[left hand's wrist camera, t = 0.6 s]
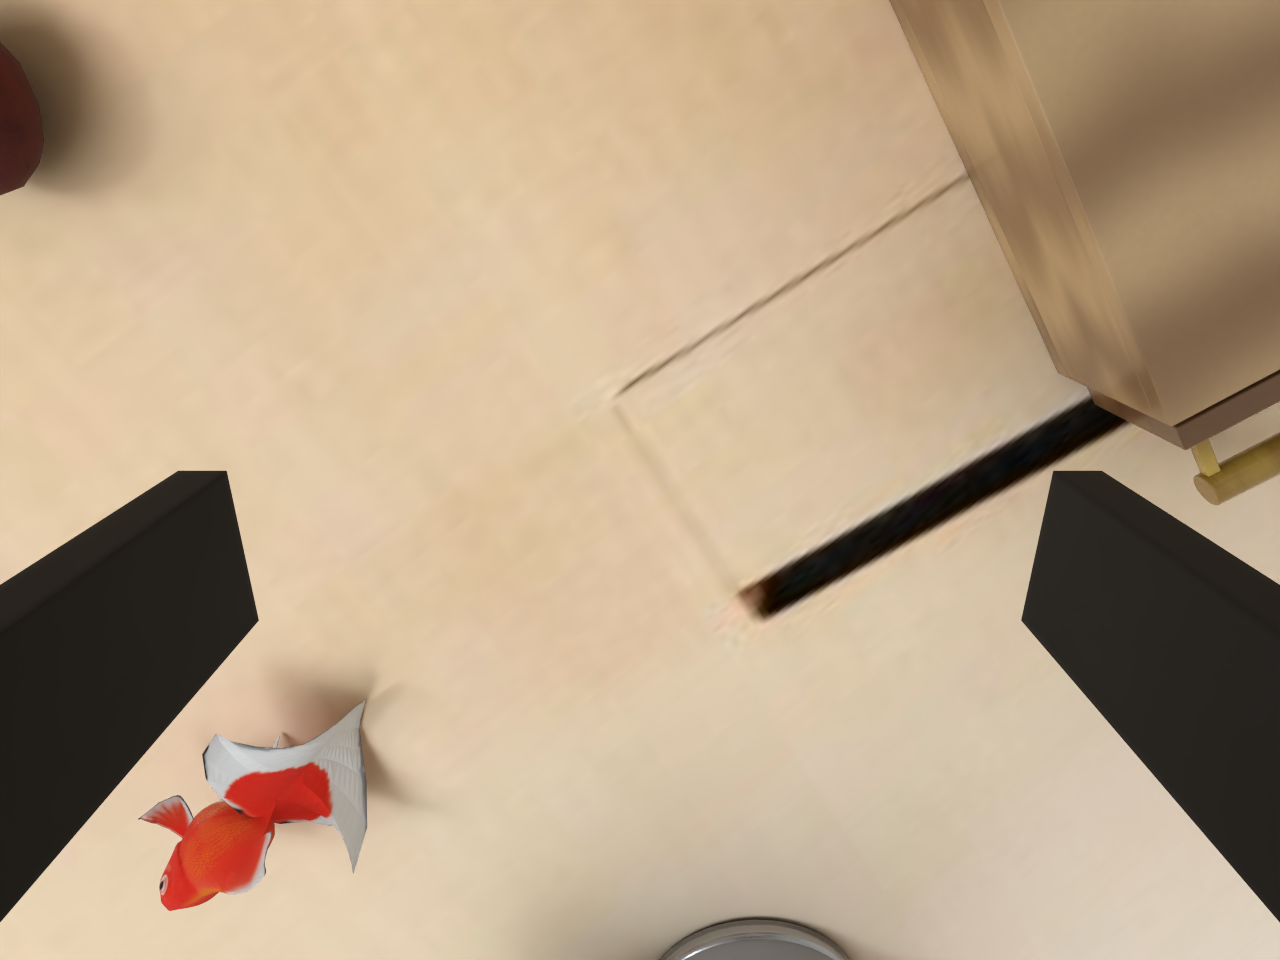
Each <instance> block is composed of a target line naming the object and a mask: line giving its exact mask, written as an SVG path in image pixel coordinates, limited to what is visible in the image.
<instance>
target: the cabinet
mask: <svg viewBox="0 0 1280 960" xmlns="http://www.w3.org/2000/svg"><path fill="white" fill-rule="evenodd" d="M890 2H891V5H892V7H893V9H894V11H895V13H896V16H897V18H898V20H899V22H900V24H901V27H902V29H903V31H904V33H905V35H906V38H907V40H908V42H909V44H910V46H911V49H912V51H913V53H914V55H915V58H916V60H917V62H918V64H919V66H920V69H921V71H922V73H923V75H924V77H925V80H926V82H927V84H928V86H929V88H930V91H931V93H932V95H933V97H934V99H935V102H936V104H937V106H938V108H939V111H940V113H941V115H942V117H943V119H944V122H945V124H946V126H947V128H948V130H949V133H950V135H951V137H952V139H953V141H954V144H955V146H956V148H957V150H958V152H959V155H960V157H961V159H962V161H963V164H964V166H965V168H966V170H967V172H968V175H969V177H970V179H971V181H972V183H973V186H974V188H975V190H976V192H977V194H978V197H979V199H980V201H981V203H982V205H983V208H984V210H985V212H986V214H987V217H988V219H989V221H990V223H991V225H992V228H993V230H994V232H995V234H996V236H997V239H998V241H999V243H1000V245H1001V247H1002V250H1003V252H1004V254H1005V256H1006V258H1007V261H1008V263H1009V265H1010V267H1011V270H1012V272H1013V274H1014V276H1015V278H1016V281H1017V283H1018V285H1019V287H1020V289H1021V292H1022V294H1023V296H1024V298H1025V300H1026V303H1027V305H1028V307H1029V309H1030V312H1031V314H1032V316H1033V318H1034V320H1035V323H1036V325H1037V327H1038V329H1039V331H1040V334H1041V336H1042V338H1043V340H1044V342H1045V345H1046V347H1047V349H1048V351H1049V353H1050V356H1051V358H1052V360H1053V362H1054V365H1055V367H1056V369H1057V371H1058V373H1059V374H1062V375H1064V376H1066V377H1068V378H1070V379H1072V380H1074V381H1076V382H1078V383H1081V384H1083V385H1085V386H1087V387H1089V388H1091V389H1093V390H1095V391H1097V392H1100V393H1102V394H1104V395H1106V396H1108V397H1110V398H1112V399H1114V400H1116V401H1119V402H1121V403H1123V404H1125V405H1127V406H1129V407H1131V408H1133V409H1135V410H1138V411H1140V412H1142V413H1144V414H1146V415H1148V416H1150V417H1152V418H1154V419H1157V420H1158V421H1160V422H1163V423H1165V424H1167V425H1169V426H1174V425H1176V424H1178V423H1179V422H1181V421H1183V420H1185V419H1187V418H1189V417H1191V416H1193V415H1195V414H1196V413H1198V412H1200V411H1202V410H1204V409H1206V408H1208V407H1210V406H1212V405H1213V404H1215V403H1217V402H1219V401H1221V400H1223V399H1225V398H1227V397H1229V396H1230V395H1232V394H1234V393H1236V392H1238V391H1240V390H1242V389H1244V388H1245V387H1247V386H1249V385H1251V384H1253V383H1255V382H1257V381H1259V380H1261V379H1262V378H1264V377H1266V376H1268V375H1270V374H1272V373H1274V372H1276V371H1278V370H1279V369H1280V0H890Z"/></svg>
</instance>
